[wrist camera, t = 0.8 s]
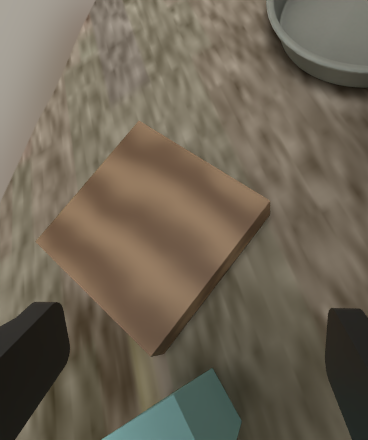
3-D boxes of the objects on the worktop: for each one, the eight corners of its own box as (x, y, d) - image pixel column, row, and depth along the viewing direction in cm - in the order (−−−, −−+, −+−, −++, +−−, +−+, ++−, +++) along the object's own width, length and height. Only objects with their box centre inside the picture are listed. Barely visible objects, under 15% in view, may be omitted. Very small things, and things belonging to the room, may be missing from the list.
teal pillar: (212, 367, 31) (173, 394, 18) (241, 421, 29) (221, 494, 16) (168, 395, 31) (98, 441, 18) (194, 450, 29) (137, 546, 16)
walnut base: (150, 139, 41) (138, 120, 37) (269, 214, 34) (270, 200, 30) (57, 250, 39) (35, 241, 35) (163, 353, 32) (150, 356, 28)
